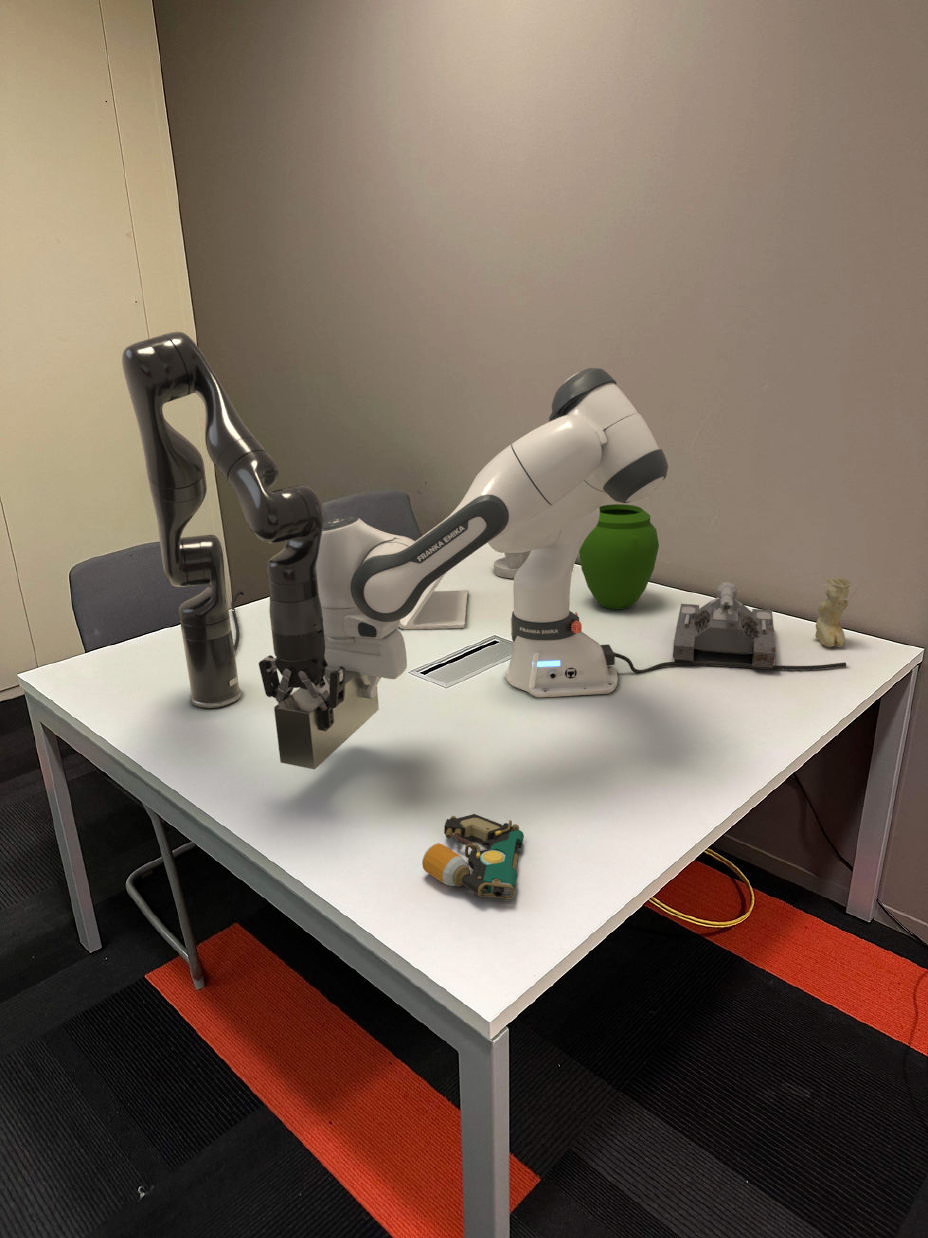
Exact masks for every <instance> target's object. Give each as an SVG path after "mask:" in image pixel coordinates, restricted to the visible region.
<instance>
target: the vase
mask: <svg viewBox="0 0 928 1238" xmlns="http://www.w3.org/2000/svg"><path fill="white" fill-rule="evenodd" d="M599 509H600V515H599V521H598V523H597V525H596V527H595V528H594V529H593V530H592V532H591V533H590V534H589V535H588V536H587V538H586V539H585V541H584V543H583V544H582V546H581V548H580V551H579V553H578V555H579V562H580V569H581V571H582V574H583V577H584V580H585V583H586V585H587V588H588V590H589V591H590V594H592V597H593V598H594V600H595V601H596V602H597V603H598V604H599V605H600V606H602V607H604V608H606V609H609V610H625V609H628V608H630V607H632V606H634V604H636V602H638V601H639V599H640V597H641V596H642V595H643V593H644V592H645V590H646V588H647V586H648V584H649V581H650V579H651V577H652V574H653V572H654V570H655V566H656V562H657V557H658V552H659V548H660V544H659V543H660V542H659V537H658V531H657V528H656V527H655V526H654V524H653V523H652V522H651V515H650V514H649V512H647V511H645V510H644V509H643V508H642V507H641V506H638V505H633V504H625V503H620V504H619V503H616V504H615V503H614V504H604V505H601V506H599Z"/></svg>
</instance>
